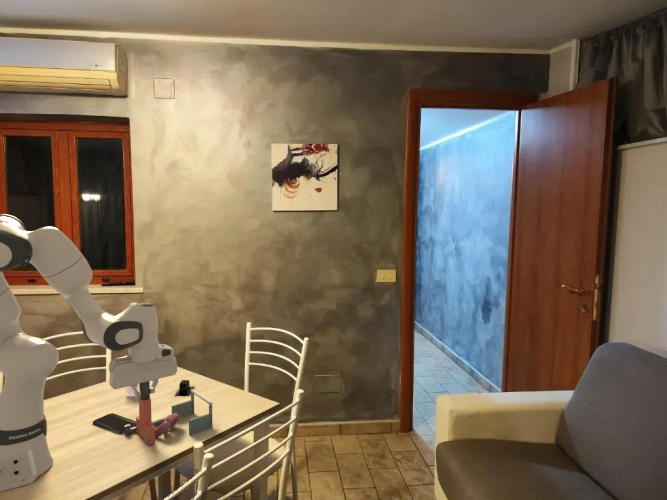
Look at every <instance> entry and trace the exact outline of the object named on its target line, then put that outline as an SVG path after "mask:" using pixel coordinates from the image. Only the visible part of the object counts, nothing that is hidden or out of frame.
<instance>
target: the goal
mask: <svg viewBox="0 0 667 500" xmlns="http://www.w3.org/2000/svg"><path fill="white" fill-rule="evenodd" d="M195 396H196V397H198V398H199V399H201V400H202V401H203V402H205V403H206V404H208V413H206V414H203V415H200V416H196V417H194V418H190V419H188V435H189V436H192V435H195V434H199V433H201V432H203V431H207V430H210V429H212V428H213V401H211V400H210V399H208V397H205V396H204V395H202V393H200V392H198V391H197V390H196V389H195V388H193V389H191V393H190V400H187V401H183V402H179V403H175V404H173V405H171V415H172V414H174V413H176V414H179V415H181V417H180V419H181V418H184V417H186V416H187V417H188V416H190V415H194V414H195Z"/></svg>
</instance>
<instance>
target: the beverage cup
mask: <svg viewBox="0 0 667 500" xmlns="http://www.w3.org/2000/svg"><path fill="white" fill-rule="evenodd" d="M124 388H125V395H126V397H135V395H134V390H133V389H132V388H131V386H127V387H124ZM135 388H136V389H137V390H140V387H139V384H137V387H135Z"/></svg>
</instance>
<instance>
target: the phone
mask: <svg viewBox="0 0 667 500" xmlns="http://www.w3.org/2000/svg"><path fill="white" fill-rule="evenodd" d="M128 424H130V428H133V427H136V420H133V419H132V418H131V419H130V418H127V417H125V416H123V415H119V414H116V413H114V412H111V413H108V414H105V415H103V416H101V417H98V418H96V419H94V420H93V421H92V425H93V426H96V427H99V428H101V429H104V430H106V431H108V432H109V431H110V432H111V433H115V434H116V435H117V434H118V435H124V426H125V425H128Z"/></svg>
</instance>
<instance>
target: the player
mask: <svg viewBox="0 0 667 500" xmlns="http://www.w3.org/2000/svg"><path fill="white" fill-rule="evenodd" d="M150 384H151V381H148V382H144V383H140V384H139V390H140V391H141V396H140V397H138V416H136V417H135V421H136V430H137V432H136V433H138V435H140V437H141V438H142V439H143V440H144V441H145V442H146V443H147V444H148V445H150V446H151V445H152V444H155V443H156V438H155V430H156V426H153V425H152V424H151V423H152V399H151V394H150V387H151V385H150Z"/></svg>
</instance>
